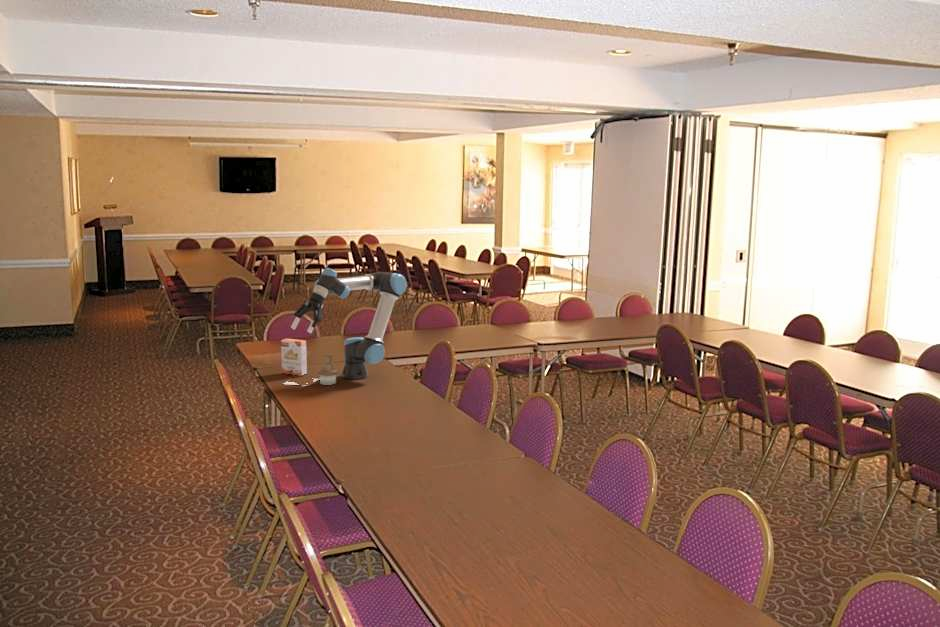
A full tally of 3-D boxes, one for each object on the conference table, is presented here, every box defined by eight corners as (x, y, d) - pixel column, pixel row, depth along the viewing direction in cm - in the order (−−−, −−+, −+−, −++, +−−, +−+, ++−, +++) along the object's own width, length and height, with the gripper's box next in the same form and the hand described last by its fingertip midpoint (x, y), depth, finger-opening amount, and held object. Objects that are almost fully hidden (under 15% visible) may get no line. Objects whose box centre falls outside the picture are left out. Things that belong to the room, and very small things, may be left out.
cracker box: (281, 374, 458) (280, 339, 454) (287, 372, 463) (286, 337, 460) (301, 376, 453) (300, 341, 449) (307, 374, 458) (306, 339, 455)
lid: (322, 370, 442) (322, 352, 440) (340, 371, 440) (340, 353, 438) (314, 374, 431) (314, 356, 430) (333, 376, 429) (332, 358, 427)
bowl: (323, 381, 442) (323, 370, 441) (339, 382, 440) (339, 371, 439) (316, 385, 433) (315, 374, 432) (332, 387, 431) (332, 375, 430)
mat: (294, 378, 449) (294, 377, 449) (320, 379, 446) (320, 379, 446) (282, 384, 434) (282, 383, 434) (308, 386, 431) (308, 385, 430)
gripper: (299, 289, 417) (281, 323, 411) (329, 294, 402) (311, 330, 396) (308, 295, 423) (290, 330, 417) (338, 301, 407) (320, 337, 401)
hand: (300, 330), depth 406 cm, fingers open, 13 cm apart
